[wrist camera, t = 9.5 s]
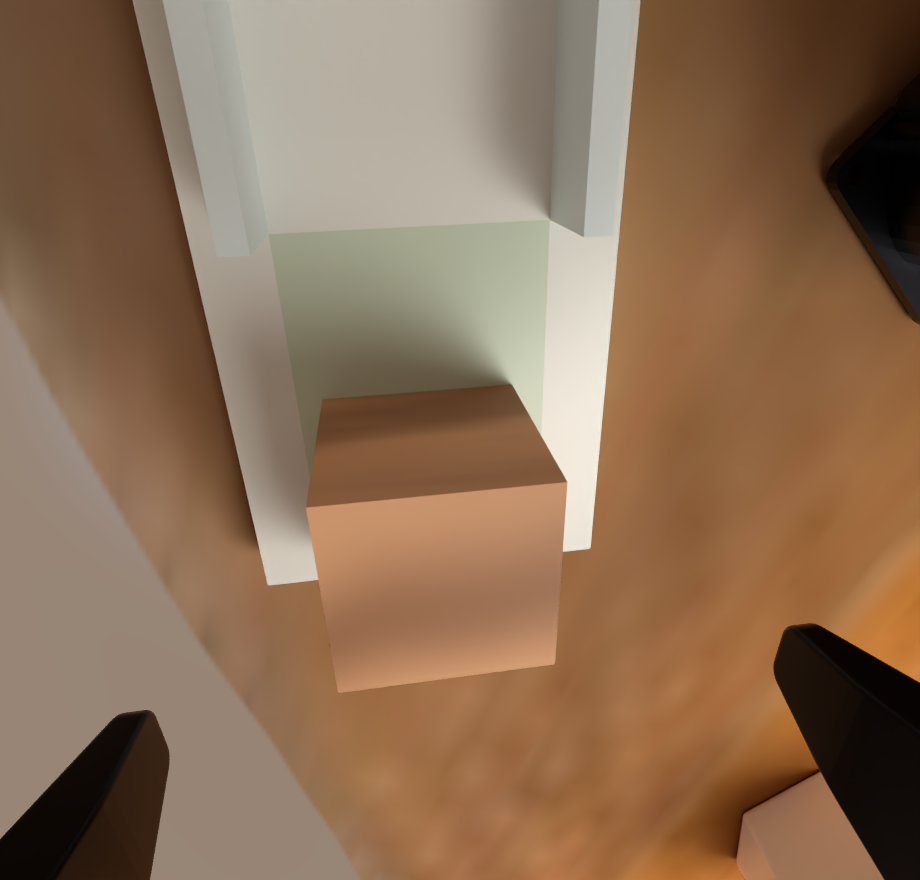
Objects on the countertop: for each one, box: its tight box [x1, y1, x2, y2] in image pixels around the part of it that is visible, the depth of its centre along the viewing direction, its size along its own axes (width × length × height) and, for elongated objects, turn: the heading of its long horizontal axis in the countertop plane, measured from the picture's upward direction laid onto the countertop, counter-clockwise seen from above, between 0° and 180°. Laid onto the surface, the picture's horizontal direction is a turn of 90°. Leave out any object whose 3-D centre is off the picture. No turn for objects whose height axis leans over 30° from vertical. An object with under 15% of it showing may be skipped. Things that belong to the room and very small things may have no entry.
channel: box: [133, 0, 641, 585], centre depth 12 cm, size 24×10×4 cm, turn 2°
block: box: [306, 385, 567, 693], centre depth 15 cm, size 5×5×5 cm
